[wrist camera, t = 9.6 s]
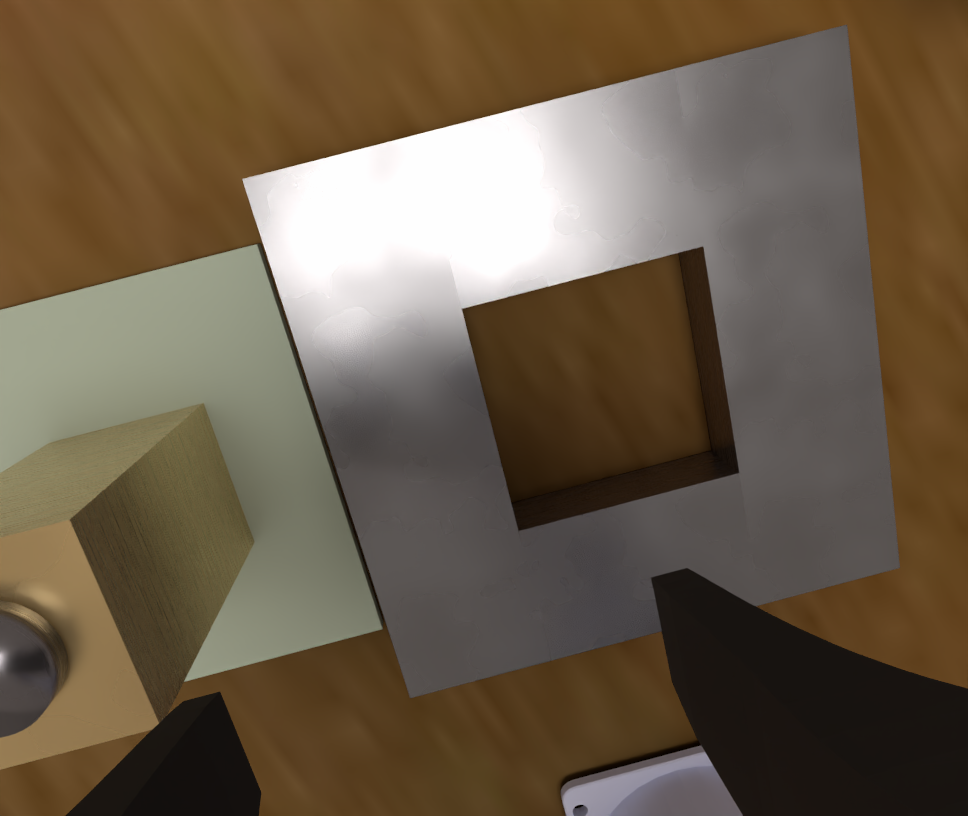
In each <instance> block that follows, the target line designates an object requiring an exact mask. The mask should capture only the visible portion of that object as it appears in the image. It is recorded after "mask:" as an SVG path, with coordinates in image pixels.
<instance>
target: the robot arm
mask: <svg viewBox="0 0 968 816" xmlns="http://www.w3.org/2000/svg"><path fill="white" fill-rule="evenodd" d="M651 580H652V585H653V590H654V595H655V600H656V605H657V610H658V615H659V620H660V625H661V629H662V634H663V639H664V644H665V649H666V654H667V659H668V664H669V669H670V673H671V678H672V683H673V685H674V687H675V690H676V692H677V694H678V697H679V699H680V701H681V704H682V706H683V708H684V710H685V713H686V715H687V717H688V719H689V722H690V724H691V726H692V728H693V730H694V733H695V735H696V737H697V739H698V741H699V742H700V744H701V746H697V747H693V748H689V749H686V750H682V751H678V752H675V753H671V754H667V755H663V756H660V757H656V758H652V759H649V760H645V761H641V762H637V763H634V764H630V765H626V766H622V767H619V768H615V769H611V770H608V771H604V772H600V773H596V774H593V775H589V776H585V777H582V778H578V779H574V780H571V781H569V782H567V783H566V784H565V785H564V786H563V787H562V789H561V797H562V802H563V806H564V809H565V813H566V816H968V689H967V688H963V687H960V686H956V685H952V684H949V683H945V682H941V681H938V680H934V679H930V678H927V677H924V676H921V675H917V674H914V673H911V672H908V671H905V670H902V669H899V668H896V667H893V666H890V665H888V664H885V663H882V662H879V661H876V660H874V659H871V658H868V657H865V656H862V655H860V654H857V653H854V652H852V651H849V650H847V649H844V648H842V647H839V646H837V645H835V644H832V643H830V642H828V641H826V640H823V639H821V638H819V637H817V636H815V635H812V634H810V633H808V632H806V631H803V630H801V629H799V628H797V627H795V626H793V625H791V624H789V623H787V622H785V621H783V620H781V619H779V618H777V617H775V616H773V615H771V614H769V613H767V612H765V611H763V610H761V609H759V608H757V607H756V606H754V605H752V604H750V603H748V602H746V601H745V600H743V599H741V598H739V597H737V596H736V595H734V594H732V593H730V592H729V591H727V590H725V589H723V588H722V587H720V586H718V585H716V584H715V583H713V582H711V581H709V580H708V579H706V578H704V577H703V576H701V575H699V574H697V573H696V572H694V571H692V570H690V569H688V568H685V569H681V570H677V571H673V572H670V573H666V574H662V575H658V576H655V577H651ZM260 799H261V791H260V788H259V786H258V783H257V781H256V778H255V776H254V774H253V771H252V769H251V766H250V764H249V761H248V759H247V756H246V754H245V752H244V749H243V747H242V744H241V742H240V739H239V737H238V734H237V732H236V730H235V727H234V725H233V722H232V720H231V717H230V715H229V712H228V710H227V707H226V705H225V703H224V700H223V698H222V695H221V693H220V692H217V693H213V694H209V695H206V696H202V697H198V698H194V699H191V700H187V701H183V702H182V703H181V704H180V705H179V706H177V707H176V708H175V709H174V710H173V711H172V712H170V713H169V714H168V715H167V716H166V717H165V718H164V719H163V720H162V721H161V722H160V723H159V724H158V725H157V726H156V727H155V728H154V729H153V730H152V731H150V732H149V733H148V734H147V735H146V736H145V737H144V738H143V739H142V740H141V741H140V742H139V743H138V744H137V745H136V746H135V747H134V749H133V750H132V751H131V752H130V753H129V754H128V755H127V756H126V757H125V758H124V759H123V760H122V761H121V762H120V763H119V764H118V765H117V766H116V767H115V768H114V769H113V770H112V771H111V772H110V773H109V774H108V775H107V776H106V777H105V778H104V779H103V780H102V781H101V782H100V783H99V784H98V785H97V786H96V787H95V788H94V789H93V790H92V791H91V792H90V793H89V794H88V795H87V796H86V797H85V798H84V799H83V800H82V801H81V802H79V803H78V804H77V805H76V806H75V807H74V808H73V809H72V810H71V811H70V812H69V813H68V814H67V815H66V816H259V807H260ZM577 805H584V806H583V807H581V808H574V807H576V806H577Z"/></svg>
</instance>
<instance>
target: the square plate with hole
mask: <svg viewBox="0 0 968 816" xmlns="http://www.w3.org/2000/svg"><path fill="white" fill-rule="evenodd" d="M242 180H243V183H244V186H245V189H246V192H247V195H248V198H249V202H250V205H251V208H252V211H253V214H254V217H255V220H256V223H257V226H258V229H259V232H260V236H261V239H262V242H263V245H264V248H265V251H266V254H267V257H268V260H269V263H270V266H271V269H272V273H273V276H274V279H275V282H276V285H277V288H278V291H279V294H280V297H281V300H282V303H283V307H284V310H285V313H286V316H287V319H288V322H289V325H290V328H291V331H292V334H293V337H294V340H295V344H296V347H297V350H298V353H299V356H300V359H301V362H302V365H303V368H304V371H305V374H306V378H307V381H308V384H309V387H310V390H311V393H312V396H313V399H314V402H315V405H316V408H317V411H318V415H319V418H320V421H321V424H322V427H323V430H324V433H325V436H326V439H327V442H328V445H329V449H330V452H331V455H332V458H333V461H334V464H335V467H336V470H337V473H338V476H339V479H340V482H341V486H342V489H343V492H344V495H345V498H346V501H347V504H348V507H349V510H350V513H351V516H352V520H353V523H354V526H355V529H356V532H357V535H358V538H359V541H360V544H361V547H362V550H363V553H364V557H365V560H366V563H367V566H368V569H369V572H370V575H371V578H372V581H373V584H374V587H375V591H376V594H377V597H378V600H379V603H380V606H381V609H382V612H383V615H384V618H385V621H386V624H387V628H388V631H389V634H390V637H391V640H392V643H393V646H394V649H395V652H396V655H397V658H398V662H399V665H400V668H401V671H402V674H403V677H404V680H405V683H406V686H407V689H408V692H409V695H410V698H412V697H416V696H420V695H424V694H428V693H431V692H435V691H439V690H443V689H446V688H450V687H454V686H458V685H461V684H465V683H469V682H473V681H476V680H480V679H484V678H488V677H491V676H495V675H499V674H503V673H506V672H510V671H514V670H518V669H521V668H525V667H529V666H533V665H536V664H540V663H544V662H548V661H551V660H555V659H559V658H563V657H566V656H570V655H574V654H578V653H582V652H585V651H589V650H593V649H597V648H600V647H604V646H608V645H612V644H615V643H619V642H623V641H627V640H630V639H634V638H638V637H642V636H645V635H649V634H653V633H657V632H660V631H662V629H661V625H660V620H659V615H658V610H657V605H656V600H655V595H654V590H653V585H652V580H651V577H655V576H658V575H662V574H666V573H670V572H673V571H677V570H681V569H685V568H688V569H690V570H692V571H694V572H696V573H697V574H699V575H701V576H703V577H704V578H706V579H708V580H709V581H711V582H713V583H715V584H716V585H718V586H720V587H722V588H723V589H725V590H727V591H729V592H730V593H732V594H734V595H736V596H737V597H739V598H741V599H743V600H745V601H746V602H748V603H750V604H752V605H754V606H758V605H762V604H766V603H769V602H773V601H777V600H781V599H784V598H788V597H792V596H796V595H799V594H803V593H807V592H811V591H814V590H818V589H822V588H826V587H829V586H833V585H837V584H841V583H844V582H848V581H852V580H856V579H859V578H863V577H867V576H871V575H874V574H878V573H882V572H886V571H890V570H893V569H897V568H900V565H899V555H898V544H897V534H896V524H895V513H894V503H893V493H892V483H891V472H890V462H889V452H888V441H887V431H886V421H885V411H884V400H883V390H882V380H881V369H880V359H879V349H878V338H877V328H876V318H875V308H874V297H873V287H872V277H871V266H870V256H869V246H868V235H867V225H866V215H865V205H864V194H863V184H862V174H861V163H860V153H859V143H858V132H857V122H856V112H855V102H854V91H853V81H852V71H851V60H850V50H849V40H848V30H847V25H844V26H840V27H836V28H832V29H828V30H825V31H821V32H817V33H813V34H809V35H805V36H801V37H797V38H793V39H789V40H785V41H782V42H778V43H774V44H770V45H766V46H762V47H758V48H754V49H750V50H746V51H742V52H738V53H735V54H731V55H727V56H723V57H719V58H715V59H711V60H707V61H703V62H699V63H695V64H691V65H688V66H684V67H680V68H676V69H672V70H668V71H664V72H660V73H656V74H652V75H648V76H645V77H641V78H637V79H633V80H629V81H625V82H621V83H617V84H613V85H609V86H605V87H601V88H598V89H594V90H590V91H586V92H582V93H578V94H574V95H570V96H566V97H562V98H558V99H554V100H551V101H547V102H543V103H539V104H535V105H531V106H527V107H523V108H519V109H515V110H511V111H507V112H504V113H500V114H496V115H492V116H488V117H484V118H480V119H476V120H472V121H468V122H464V123H461V124H457V125H453V126H449V127H445V128H441V129H437V130H433V131H429V132H425V133H421V134H417V135H414V136H410V137H406V138H402V139H398V140H394V141H390V142H386V143H382V144H378V145H374V146H370V147H367V148H363V149H359V150H355V151H351V152H347V153H343V154H339V155H335V156H331V157H327V158H324V159H320V160H316V161H312V162H308V163H304V164H300V165H296V166H292V167H288V168H284V169H280V170H277V171H273V172H269V173H265V174H261V175H257V176H253V177H249V178H245V179H242ZM675 253H679V257H680V263H681V269H682V275H683V281H684V287H685V293H686V299H687V305H688V310H689V316H690V322H691V328H692V334H693V340H694V346H695V352H696V358H697V364H698V370H699V376H700V382H701V388H702V393H703V399H704V405H705V411H706V417H707V423H708V429H709V435H710V441H711V447H712V451H708V452H705V453H701V454H697V455H693V456H689V457H686V458H682V459H678V460H674V461H670V462H667V463H663V464H659V465H655V466H651V467H648V468H644V469H640V470H636V471H632V472H629V473H625V474H621V475H617V476H613V477H609V478H606V479H602V480H598V481H594V482H590V483H587V484H583V485H579V486H575V487H571V488H568V489H564V490H560V491H556V492H552V493H549V494H545V495H541V496H537V497H533V498H530V499H526V500H522V501H518V502H514V503H511V500H510V496H509V492H508V488H507V484H506V480H505V476H504V472H503V469H502V465H501V461H500V457H499V453H498V449H497V445H496V441H495V437H494V433H493V429H492V426H491V422H490V418H489V414H488V410H487V406H486V402H485V398H484V394H483V390H482V386H481V383H480V379H479V375H478V371H477V367H476V363H475V359H474V355H473V351H472V347H471V343H470V340H469V336H468V332H467V328H466V324H465V320H464V316H463V312H462V309H463V308H467V307H471V306H475V305H479V304H482V303H486V302H490V301H494V300H498V299H502V298H506V297H509V296H513V295H517V294H521V293H525V292H529V291H533V290H537V289H540V288H544V287H548V286H552V285H556V284H560V283H564V282H567V281H571V280H575V279H579V278H583V277H587V276H591V275H594V274H598V273H602V272H606V271H610V270H614V269H618V268H621V267H625V266H629V265H633V264H637V263H641V262H645V261H648V260H652V259H656V258H660V257H664V256H668V255H672V254H675Z"/></svg>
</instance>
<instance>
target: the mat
mask: <svg viewBox="0 0 968 816" xmlns="http://www.w3.org/2000/svg"><path fill="white" fill-rule="evenodd" d="M201 403H204V405H205V408H206V411H207V414H208V416H209V419H210V422H211V425H212V427H213V430H214V433H215V435H216V438H217V441H218V444H219V446H220V449H221V452H222V455H223V457H224V460H225V463H226V465H227V468H228V471H229V474H230V476H231V479H232V482H233V485H234V487H235V490H236V493H237V496H238V498H239V501H240V504H241V506H242V509H243V512H244V515H245V517H246V520H247V523H248V526H249V528H250V531H251V534H252V536H253V539H254V542H255V543H254V545H253V547H252V549H251V551H250V553H249V555H248V556H247V558H246V560H245V562H244V564H243V566H242V568H241V570H240V572H239V574H238V576H237V578H236V580H235V582H234V584H233V586H232V588H231V590H230V592H229V594H228V596H227V598H226V600H225V602H224V604H223V606H222V608H221V610H220V612H219V614H218V616H217V618H216V619H215V621H214V623H213V625H212V627H211V629H210V631H209V633H208V635H207V637H206V639H205V641H204V643H203V645H202V647H201V649H200V651H199V653H198V655H197V657H196V659H195V661H194V663H193V665H192V667H191V669H190V671H189V673H188V675H187V677H186V679H185V681H189V680H192V679H196V678H200V677H204V676H207V675H211V674H215V673H219V672H222V671H226V670H230V669H234V668H238V667H241V666H245V665H249V664H253V663H256V662H260V661H264V660H268V659H272V658H275V657H279V656H283V655H287V654H290V653H294V652H298V651H302V650H306V649H309V648H313V647H317V646H321V645H324V644H328V643H332V642H336V641H340V640H343V639H347V638H351V637H355V636H358V635H362V634H366V633H370V632H374V631H377V630H381V629H383V620H382V617H381V614H380V611H379V607H378V604H377V601H376V598H375V595H374V592H373V589H372V586H371V583H370V580H369V577H368V574H367V571H366V567H365V564H364V561H363V558H362V555H361V552H360V549H359V546H358V543H357V540H356V537H355V534H354V531H353V527H352V524H351V521H350V518H349V515H348V512H347V509H346V506H345V503H344V500H343V497H342V494H341V491H340V487H339V484H338V481H337V478H336V475H335V472H334V469H333V466H332V463H331V460H330V457H329V454H328V451H327V447H326V444H325V441H324V438H323V435H322V432H321V429H320V426H319V423H318V420H317V417H316V414H315V411H314V407H313V404H312V401H311V398H310V395H309V392H308V389H307V386H306V383H305V380H304V377H303V374H302V371H301V367H300V364H299V361H298V358H297V355H296V352H295V349H294V346H293V343H292V340H291V337H290V334H289V331H288V327H287V324H286V321H285V318H284V315H283V312H282V309H281V306H280V303H279V300H278V297H277V294H276V291H275V287H274V284H273V281H272V278H271V275H270V272H269V269H268V266H267V263H266V260H265V257H264V254H263V251H262V247H261V244H256V245H252V246H248V247H244V248H240V249H236V250H232V251H228V252H224V253H221V254H217V255H213V256H209V257H205V258H201V259H197V260H193V261H189V262H185V263H182V264H178V265H174V266H170V267H166V268H162V269H158V270H154V271H150V272H147V273H143V274H139V275H135V276H131V277H127V278H123V279H119V280H115V281H111V282H108V283H104V284H100V285H96V286H92V287H88V288H84V289H80V290H76V291H73V292H69V293H65V294H61V295H57V296H53V297H49V298H45V299H41V300H37V301H34V302H30V303H26V304H22V305H18V306H14V307H10V308H6V309H2V310H0V473H1V472H3V471H4V470H6V469H7V468H9V467H11V466H12V465H14V464H16V463H17V462H19V461H20V460H22V459H24V458H25V457H27V456H28V455H30V454H32V453H33V452H35V451H37V450H38V449H40V448H41V447H43V446H45V445H46V444H48V443H50V442H54V441H58V440H61V439H65V438H69V437H73V436H77V435H81V434H85V433H89V432H92V431H96V430H100V429H104V428H108V427H112V426H116V425H120V424H123V423H127V422H131V421H135V420H139V419H143V418H147V417H151V416H154V415H158V414H162V413H166V412H170V411H174V410H178V409H182V408H186V407H189V406H193V405H197V404H201ZM185 681H184V682H185Z"/></svg>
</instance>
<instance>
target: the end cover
mask: <svg viewBox="0 0 968 816" xmlns="http://www.w3.org/2000/svg"><path fill="white" fill-rule="evenodd" d="M254 543H255V542H254V539H253V536H252V534H251V531H250V528H249V526H248V523H247V520H246V517H245V515H244V512H243V509H242V506H241V504H240V501H239V498H238V496H237V493H236V490H235V487H234V485H233V482H232V479H231V476H230V474H229V471H228V468H227V465H226V463H225V460H224V457H223V455H222V452H221V449H220V446H219V444H218V441H217V438H216V435H215V433H214V430H213V427H212V425H211V422H210V419H209V416H208V414H207V411H206V408H205V405H204V403H201V404H197V405H193V406H189V407H186V408H182V409H178V410H174V411H170V412H166V413H162V414H158V415H154V416H151V417H147V418H143V419H139V420H135V421H131V422H127V423H123V424H120V425H116V426H112V427H108V428H104V429H100V430H96V431H92V432H89V433H85V434H81V435H77V436H73V437H69V438H65V439H61V440H58V441H54V442H50V443H48V444H46V445H45V446H43V447H41V448H40V449H38V450H37V451H35V452H33V453H32V454H30V455H28V456H27V457H25V458H24V459H22V460H20V461H19V462H17V463H16V464H14V465H12V466H11V467H9V468H7V469H6V470H4V471H3V472H1V473H0V769H4V768H8V767H12V766H15V765H19V764H23V763H27V762H31V761H34V760H38V759H42V758H46V757H50V756H53V755H57V754H61V753H65V752H68V751H72V750H76V749H80V748H84V747H87V746H91V745H95V744H99V743H103V742H106V741H110V740H114V739H118V738H122V737H125V736H129V735H133V734H137V733H140V732H144V731H148V730H152V729H154V728H155V727H156V726H157V725H158V724H159V723H160V722H161V721H162V720H163V719H164V718H165V717H166V716H167V714H168V712H169V710H170V708H171V706H172V704H173V702H174V700H175V698H176V696H177V694H178V692H179V690H180V688H181V686H182V684H183V682H184V681H185V679H186V677H187V675H188V673H189V671H190V669H191V667H192V665H193V663H194V661H195V659H196V657H197V655H198V653H199V651H200V649H201V647H202V645H203V643H204V641H205V639H206V637H207V635H208V633H209V631H210V629H211V627H212V625H213V623H214V621H215V619H216V618H217V616H218V614H219V612H220V610H221V608H222V606H223V604H224V602H225V600H226V598H227V596H228V594H229V592H230V590H231V588H232V586H233V584H234V582H235V580H236V578H237V576H238V574H239V572H240V570H241V568H242V566H243V564H244V562H245V560H246V558H247V556H248V555H249V553H250V551H251V549H252V547H253V545H254Z"/></svg>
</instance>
